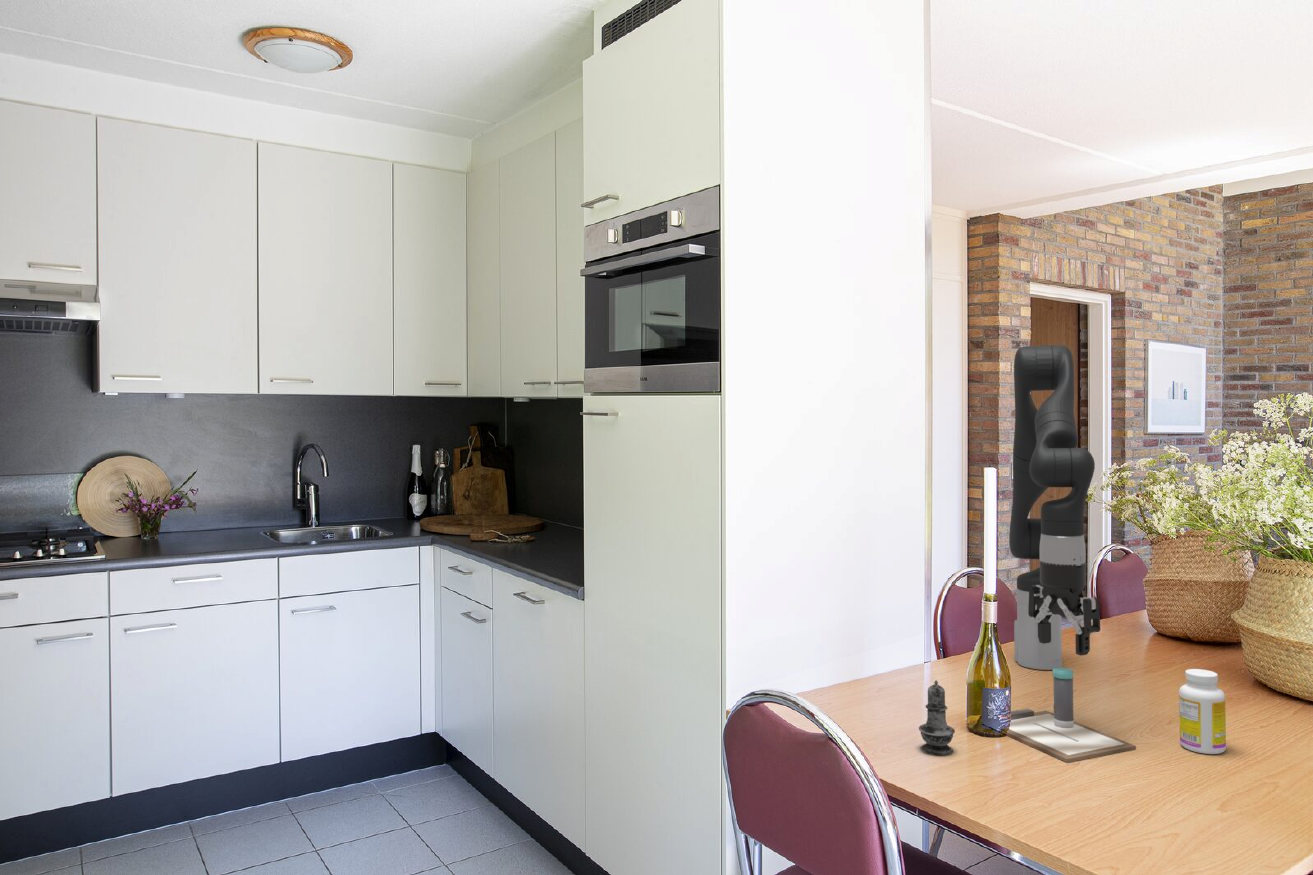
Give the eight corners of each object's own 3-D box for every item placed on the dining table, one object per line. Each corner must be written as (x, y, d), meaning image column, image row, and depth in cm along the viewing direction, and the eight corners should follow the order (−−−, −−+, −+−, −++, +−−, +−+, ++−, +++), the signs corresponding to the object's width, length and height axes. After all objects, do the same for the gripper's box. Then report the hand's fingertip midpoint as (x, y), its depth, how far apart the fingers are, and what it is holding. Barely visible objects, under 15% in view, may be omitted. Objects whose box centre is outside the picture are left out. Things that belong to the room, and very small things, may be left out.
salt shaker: (955, 745, 153) (954, 676, 153) (954, 758, 148) (954, 686, 148) (919, 742, 155) (919, 674, 155) (918, 754, 150) (917, 683, 150)
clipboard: (981, 724, 164) (981, 715, 164) (1045, 713, 169) (1045, 705, 169) (1066, 762, 145) (1066, 753, 145) (1135, 749, 150) (1135, 739, 150)
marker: (1049, 723, 161) (1048, 668, 161) (1063, 721, 162) (1062, 666, 162) (1063, 729, 158) (1063, 673, 158) (1078, 726, 159) (1077, 671, 159)
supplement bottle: (1222, 744, 152) (1222, 669, 151) (1229, 758, 146) (1228, 680, 145) (1177, 739, 154) (1176, 665, 154) (1181, 752, 148) (1181, 675, 148)
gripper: (1016, 555, 165) (1017, 641, 165) (1077, 567, 151) (1078, 661, 152) (1048, 551, 167) (1049, 637, 168) (1111, 563, 154) (1111, 656, 155)
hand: (1063, 648), depth 160 cm, fingers open, 8 cm apart
